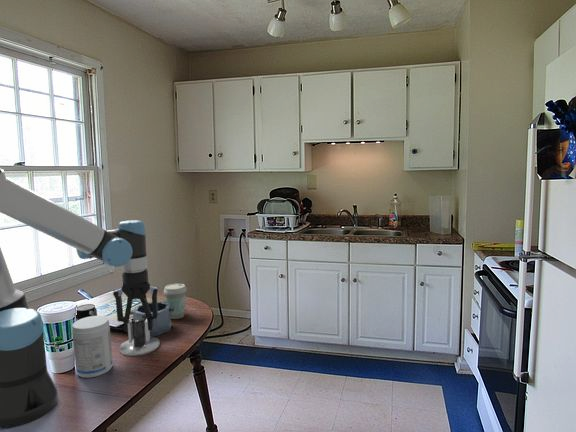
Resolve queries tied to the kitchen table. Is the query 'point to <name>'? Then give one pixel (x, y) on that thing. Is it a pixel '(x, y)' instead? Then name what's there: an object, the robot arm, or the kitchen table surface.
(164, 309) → the pot
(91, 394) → the kitchen table surface
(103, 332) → the supplement tub
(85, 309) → the beverage can
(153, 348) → the lid
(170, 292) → the coffee cup
